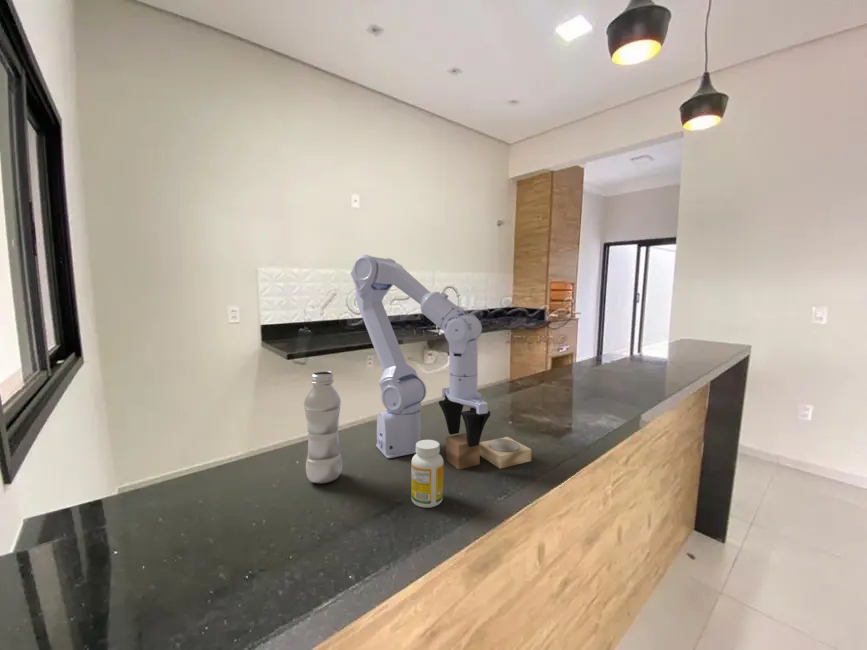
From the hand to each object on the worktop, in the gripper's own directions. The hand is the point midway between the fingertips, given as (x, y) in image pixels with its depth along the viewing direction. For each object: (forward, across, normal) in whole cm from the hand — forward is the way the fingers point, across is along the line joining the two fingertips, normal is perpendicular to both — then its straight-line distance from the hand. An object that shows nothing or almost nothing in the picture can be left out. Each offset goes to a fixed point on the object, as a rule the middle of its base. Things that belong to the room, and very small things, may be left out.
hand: (463, 439), depth 78 cm
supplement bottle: (+5, -10, +13) cm, 17 cm away
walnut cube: (+5, 0, 0) cm, 5 cm away
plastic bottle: (+5, +5, +27) cm, 28 cm away
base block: (+5, -2, -9) cm, 10 cm away
